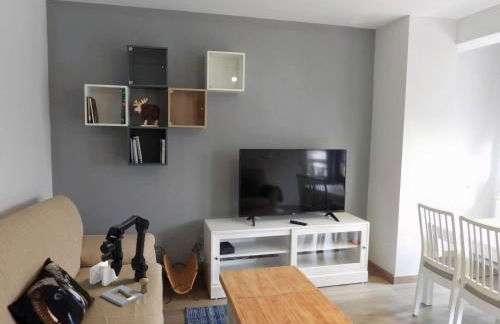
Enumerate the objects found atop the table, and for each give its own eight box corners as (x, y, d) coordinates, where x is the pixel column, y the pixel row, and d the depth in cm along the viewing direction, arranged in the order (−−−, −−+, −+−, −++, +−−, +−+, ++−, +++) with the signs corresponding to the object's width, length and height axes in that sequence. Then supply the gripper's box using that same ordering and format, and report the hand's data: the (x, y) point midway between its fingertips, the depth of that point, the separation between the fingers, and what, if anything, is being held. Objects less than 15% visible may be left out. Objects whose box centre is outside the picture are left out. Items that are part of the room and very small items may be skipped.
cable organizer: (103, 288, 211) (102, 270, 210) (89, 285, 214) (88, 267, 213) (119, 278, 226) (118, 261, 224) (105, 275, 229) (105, 259, 227)
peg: (144, 289, 211) (144, 277, 211) (150, 291, 208) (150, 279, 208) (137, 292, 207) (137, 280, 206) (143, 295, 204) (143, 282, 203)
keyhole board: (101, 296, 202) (101, 293, 202) (121, 287, 213) (121, 284, 213) (122, 306, 191) (122, 304, 190) (143, 296, 202) (143, 294, 202)
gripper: (103, 243, 207) (104, 268, 209) (100, 255, 190) (101, 282, 192) (122, 241, 211) (123, 266, 213) (121, 253, 193) (122, 279, 195)
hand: (117, 273), depth 203 cm, fingers open, 9 cm apart
